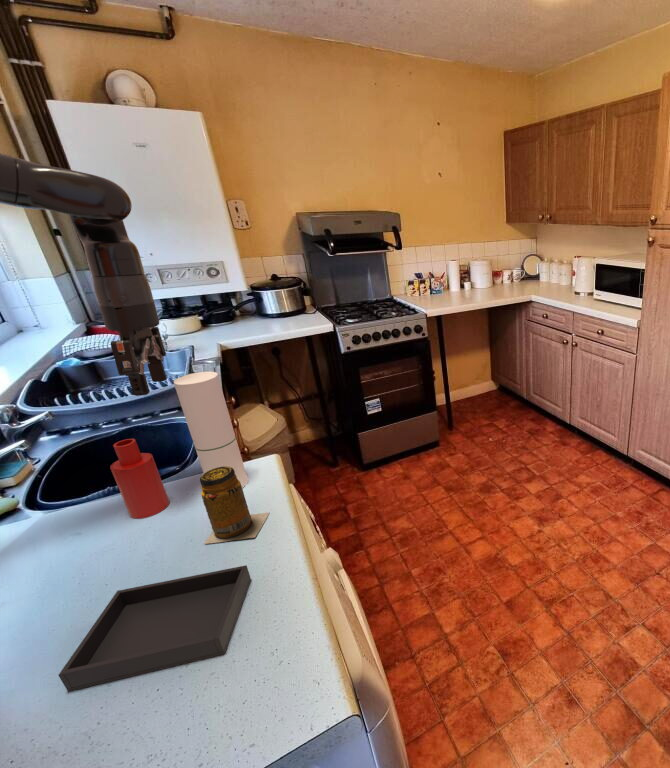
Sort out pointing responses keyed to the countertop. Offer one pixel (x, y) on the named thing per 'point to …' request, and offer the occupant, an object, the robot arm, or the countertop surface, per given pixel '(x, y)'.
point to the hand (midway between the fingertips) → (151, 387)
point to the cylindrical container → (210, 422)
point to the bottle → (138, 480)
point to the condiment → (228, 507)
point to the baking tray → (159, 627)
